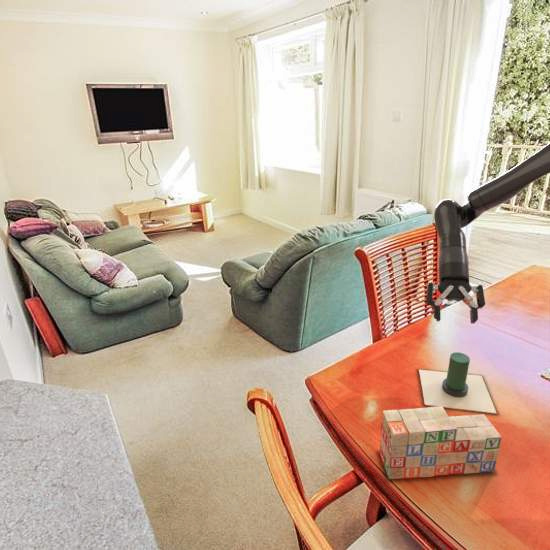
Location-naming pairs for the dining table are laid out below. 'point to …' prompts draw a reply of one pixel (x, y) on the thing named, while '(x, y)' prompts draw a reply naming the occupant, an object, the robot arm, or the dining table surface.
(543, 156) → the robot arm
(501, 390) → the dining table surface
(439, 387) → the napkin
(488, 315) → the dining table surface
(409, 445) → the stack of blocks
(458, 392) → the green cylinder with base
